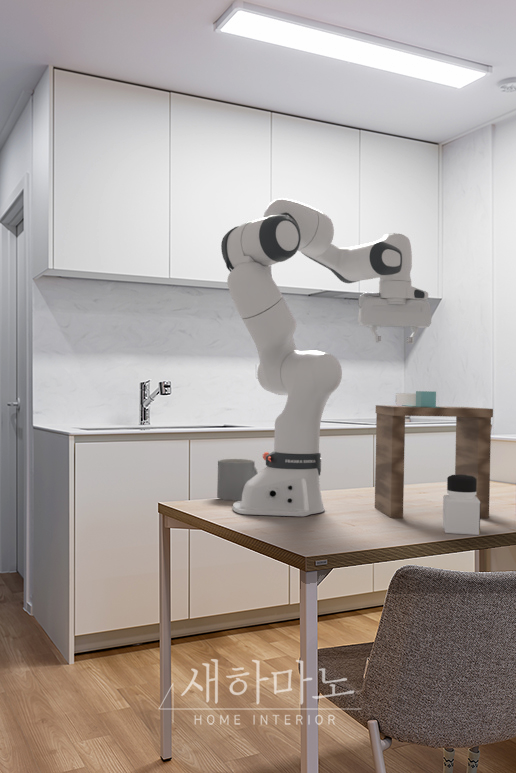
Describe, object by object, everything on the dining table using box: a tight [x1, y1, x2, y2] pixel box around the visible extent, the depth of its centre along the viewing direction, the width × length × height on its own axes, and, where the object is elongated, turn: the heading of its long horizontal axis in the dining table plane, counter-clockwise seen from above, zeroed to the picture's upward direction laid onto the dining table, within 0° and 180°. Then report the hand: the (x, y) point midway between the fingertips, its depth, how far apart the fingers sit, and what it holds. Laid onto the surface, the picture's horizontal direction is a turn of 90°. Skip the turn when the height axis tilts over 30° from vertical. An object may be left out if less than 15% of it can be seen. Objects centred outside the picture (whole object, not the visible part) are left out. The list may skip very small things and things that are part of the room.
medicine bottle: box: [442, 474, 481, 536], centre depth 149 cm, size 7×7×12 cm
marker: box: [395, 390, 437, 407], centre depth 176 cm, size 23×4×4 cm, turn 6°
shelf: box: [374, 404, 494, 519], centre depth 171 cm, size 24×16×26 cm, turn 96°
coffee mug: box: [216, 458, 259, 502], centre depth 190 cm, size 13×10×10 cm
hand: (394, 343), depth 194 cm, fingers open, 8 cm apart
